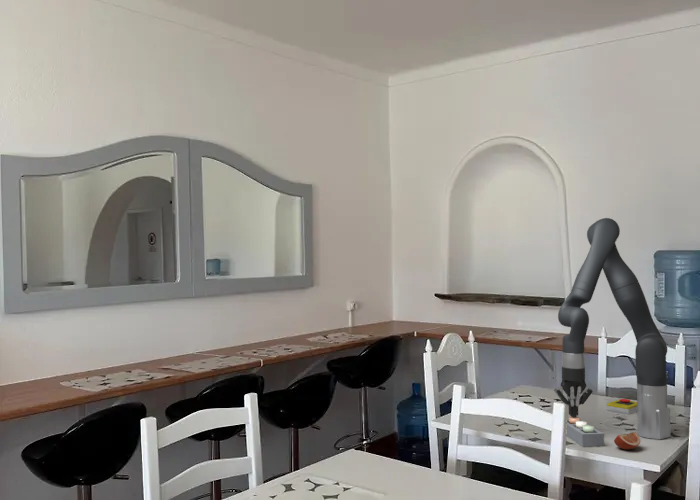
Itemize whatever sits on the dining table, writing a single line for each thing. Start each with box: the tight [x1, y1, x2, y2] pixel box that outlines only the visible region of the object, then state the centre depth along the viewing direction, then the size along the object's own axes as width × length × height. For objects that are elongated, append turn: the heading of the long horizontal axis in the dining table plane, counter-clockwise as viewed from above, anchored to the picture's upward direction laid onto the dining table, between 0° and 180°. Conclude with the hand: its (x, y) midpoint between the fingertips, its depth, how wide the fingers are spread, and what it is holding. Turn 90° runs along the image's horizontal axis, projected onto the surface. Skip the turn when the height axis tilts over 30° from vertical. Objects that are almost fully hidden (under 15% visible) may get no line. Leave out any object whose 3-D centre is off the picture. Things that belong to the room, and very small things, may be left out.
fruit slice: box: [613, 431, 641, 450], centre depth 209 cm, size 8×7×5 cm
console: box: [566, 419, 605, 448], centre depth 221 cm, size 18×7×4 cm, turn 5°
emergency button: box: [603, 398, 637, 416], centre depth 259 cm, size 9×4×15 cm
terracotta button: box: [568, 416, 581, 424], centre depth 227 cm, size 3×3×2 cm
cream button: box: [576, 420, 588, 429], centre depth 221 cm, size 3×3×2 cm
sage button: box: [583, 424, 595, 433], centre depth 216 cm, size 3×3×2 cm
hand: (573, 416), depth 227 cm, fingers closed
